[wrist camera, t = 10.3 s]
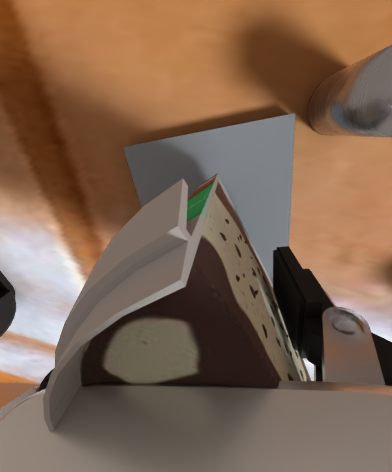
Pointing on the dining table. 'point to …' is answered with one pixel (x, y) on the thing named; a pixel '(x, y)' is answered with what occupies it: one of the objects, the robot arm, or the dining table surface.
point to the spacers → (355, 100)
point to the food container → (175, 306)
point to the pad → (228, 173)
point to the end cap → (6, 304)
